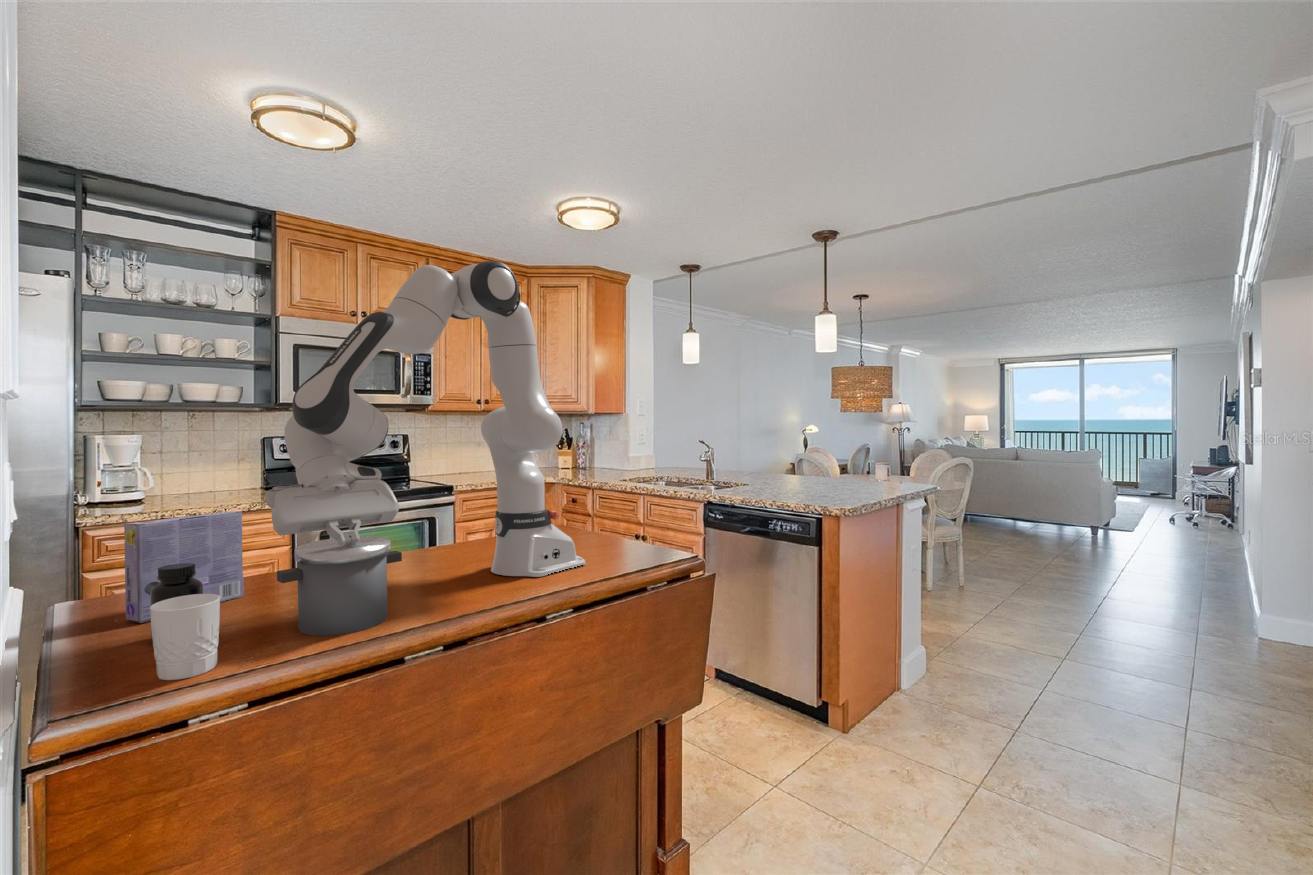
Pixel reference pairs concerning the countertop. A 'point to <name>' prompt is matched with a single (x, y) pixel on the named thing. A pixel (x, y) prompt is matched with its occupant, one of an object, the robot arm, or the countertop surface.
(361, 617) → the gray cooking pot
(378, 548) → the lid
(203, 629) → the white cup
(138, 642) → the countertop surface
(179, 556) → the cake pan box
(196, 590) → the supplement bottle
